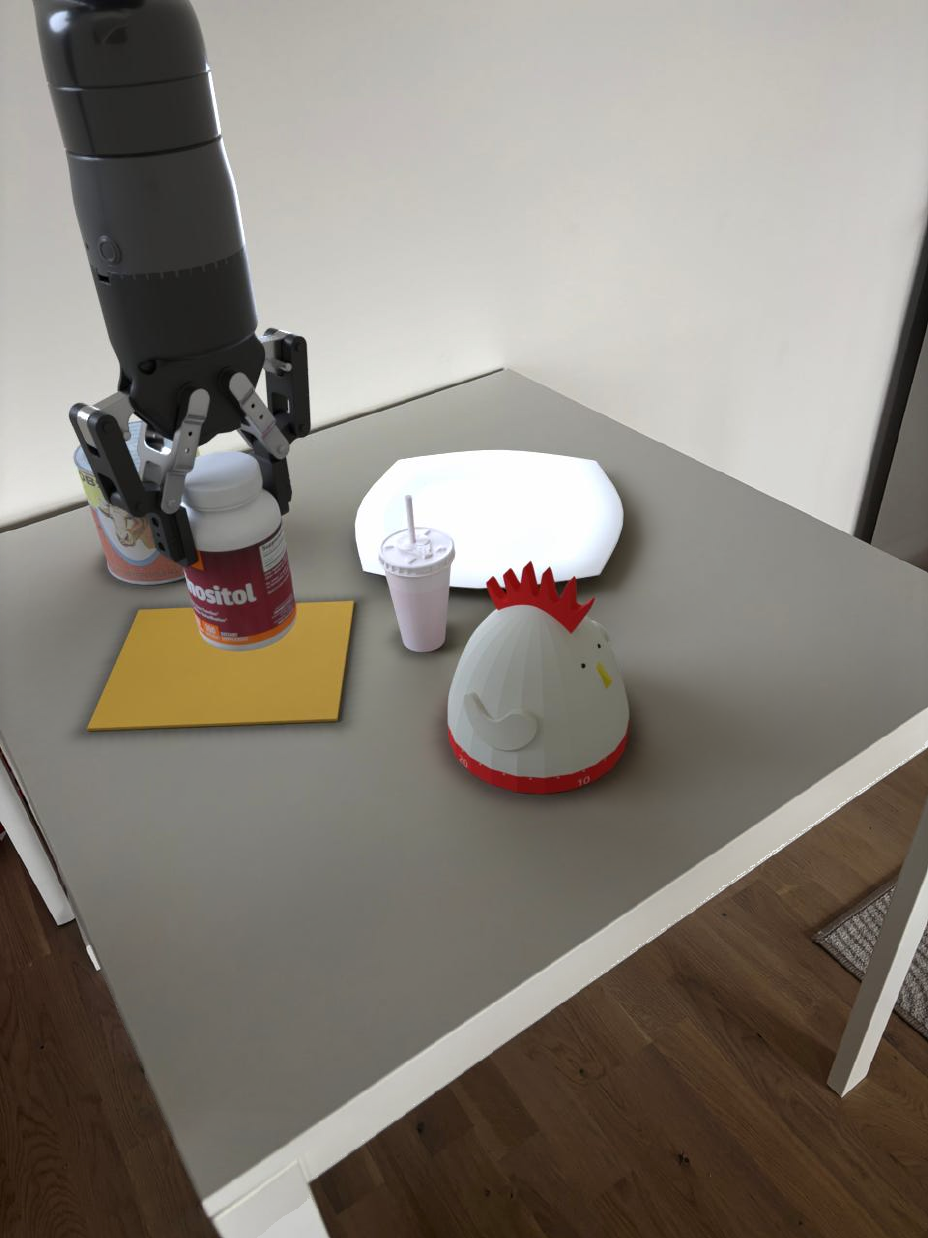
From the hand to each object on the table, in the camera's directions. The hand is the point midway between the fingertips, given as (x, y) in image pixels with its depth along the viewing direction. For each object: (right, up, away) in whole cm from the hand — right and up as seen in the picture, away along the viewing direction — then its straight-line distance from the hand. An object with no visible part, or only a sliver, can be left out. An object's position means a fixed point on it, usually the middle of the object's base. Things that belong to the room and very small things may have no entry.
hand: (229, 534), depth 57 cm
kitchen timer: (+20, -13, +18) cm, 30 cm away
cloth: (-6, -9, +26) cm, 28 cm away
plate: (+16, +4, +42) cm, 46 cm away
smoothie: (+10, -7, +28) cm, 30 cm away
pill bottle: (0, -5, +4) cm, 7 cm away
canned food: (-16, +2, +41) cm, 44 cm away
